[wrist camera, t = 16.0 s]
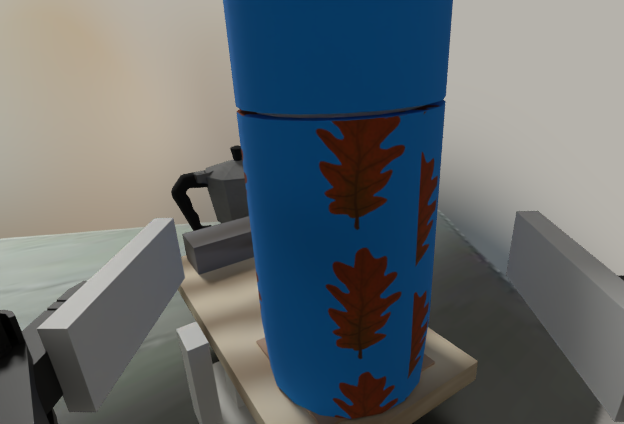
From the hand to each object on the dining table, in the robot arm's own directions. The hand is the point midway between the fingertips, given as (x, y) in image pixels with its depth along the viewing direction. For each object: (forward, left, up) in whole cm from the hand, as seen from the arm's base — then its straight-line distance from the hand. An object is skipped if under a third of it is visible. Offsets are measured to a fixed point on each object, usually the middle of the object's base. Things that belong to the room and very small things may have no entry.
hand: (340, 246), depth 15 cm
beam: (-15, +5, -14) cm, 21 cm away
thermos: (-6, +5, -13) cm, 15 cm away
